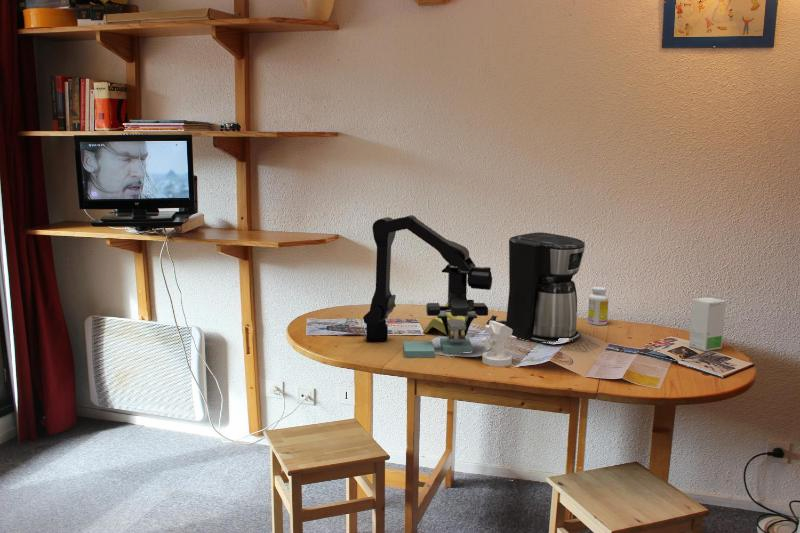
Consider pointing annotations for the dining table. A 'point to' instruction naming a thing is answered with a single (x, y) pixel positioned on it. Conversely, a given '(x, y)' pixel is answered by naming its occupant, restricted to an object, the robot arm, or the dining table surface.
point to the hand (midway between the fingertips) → (456, 336)
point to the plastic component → (439, 324)
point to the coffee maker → (543, 287)
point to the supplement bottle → (598, 306)
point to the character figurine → (497, 345)
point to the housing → (456, 325)
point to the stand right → (456, 346)
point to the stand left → (418, 349)
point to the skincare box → (707, 323)
